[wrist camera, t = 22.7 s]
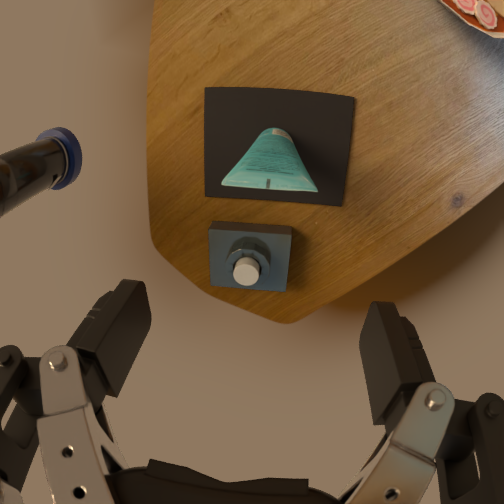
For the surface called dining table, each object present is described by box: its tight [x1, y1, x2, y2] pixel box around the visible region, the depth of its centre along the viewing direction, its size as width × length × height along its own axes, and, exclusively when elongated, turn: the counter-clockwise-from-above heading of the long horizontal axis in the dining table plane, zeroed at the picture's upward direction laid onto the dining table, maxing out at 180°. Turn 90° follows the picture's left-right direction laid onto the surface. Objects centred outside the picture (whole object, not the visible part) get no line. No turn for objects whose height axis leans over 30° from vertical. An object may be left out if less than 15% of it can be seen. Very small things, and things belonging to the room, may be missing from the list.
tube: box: [222, 128, 318, 192], centre depth 31 cm, size 7×5×19 cm, turn 92°
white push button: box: [233, 257, 260, 286], centre depth 44 cm, size 4×4×2 cm
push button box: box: [208, 221, 292, 292], centre depth 46 cm, size 12×10×5 cm
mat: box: [204, 87, 354, 206], centre depth 40 cm, size 20×16×1 cm
